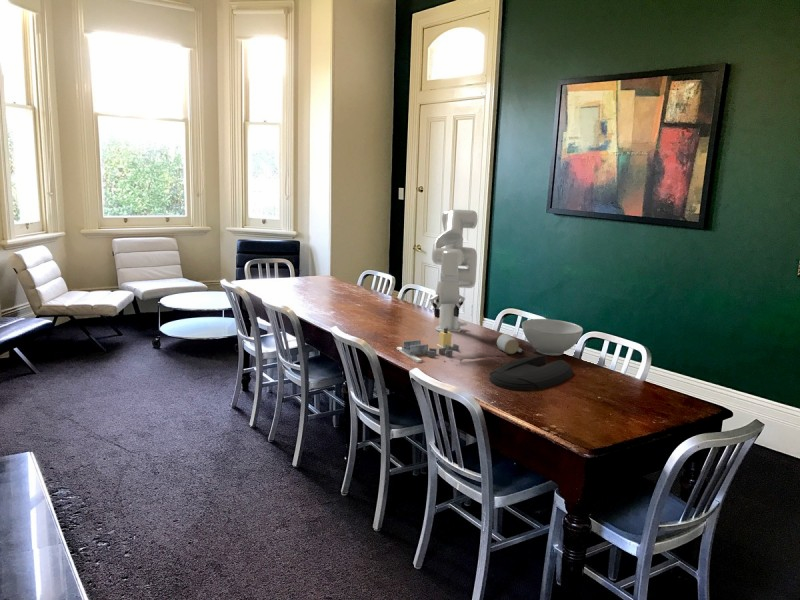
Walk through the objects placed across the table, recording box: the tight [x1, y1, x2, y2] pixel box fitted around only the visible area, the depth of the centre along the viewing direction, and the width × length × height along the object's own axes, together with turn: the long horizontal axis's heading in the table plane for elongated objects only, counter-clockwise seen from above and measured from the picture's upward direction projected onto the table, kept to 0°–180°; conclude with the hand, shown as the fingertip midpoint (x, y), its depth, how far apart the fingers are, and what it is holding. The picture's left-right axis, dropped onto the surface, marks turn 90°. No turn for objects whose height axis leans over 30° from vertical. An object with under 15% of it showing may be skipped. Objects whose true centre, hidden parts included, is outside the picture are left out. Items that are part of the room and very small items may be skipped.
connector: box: [438, 328, 453, 348], centre depth 275 cm, size 4×4×8 cm
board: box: [396, 343, 460, 364], centre depth 267 cm, size 25×20×4 cm
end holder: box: [401, 339, 429, 356], centre depth 264 cm, size 8×8×4 cm
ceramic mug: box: [496, 333, 523, 355], centre depth 274 cm, size 11×8×8 cm
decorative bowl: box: [521, 318, 584, 356], centre depth 277 cm, size 27×27×12 cm
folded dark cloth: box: [489, 355, 574, 391], centre depth 242 cm, size 25×40×5 cm, turn 138°
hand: (446, 316), depth 273 cm, fingers open, 9 cm apart
